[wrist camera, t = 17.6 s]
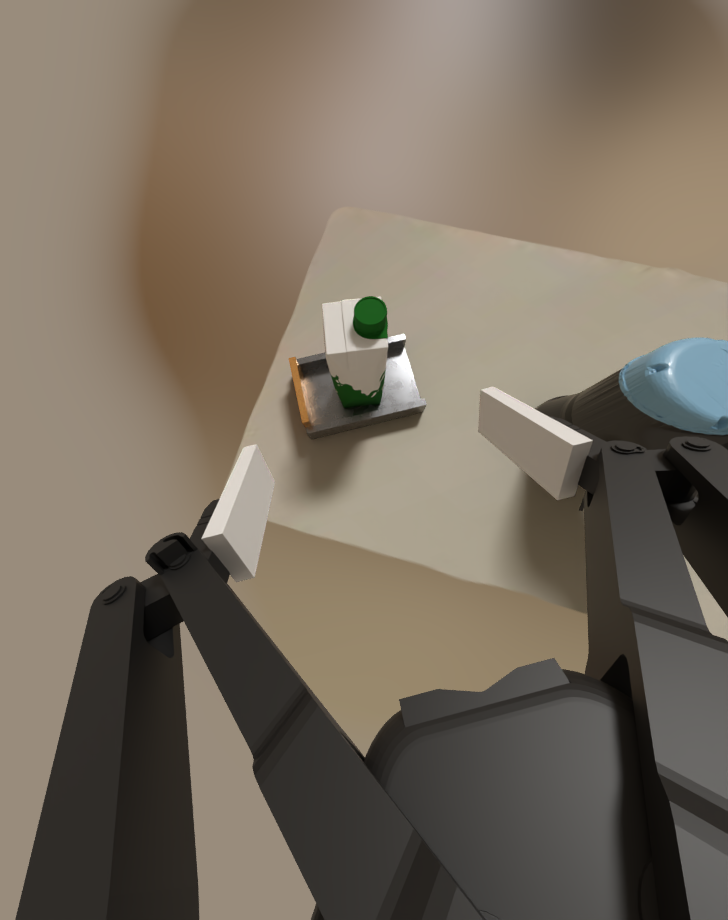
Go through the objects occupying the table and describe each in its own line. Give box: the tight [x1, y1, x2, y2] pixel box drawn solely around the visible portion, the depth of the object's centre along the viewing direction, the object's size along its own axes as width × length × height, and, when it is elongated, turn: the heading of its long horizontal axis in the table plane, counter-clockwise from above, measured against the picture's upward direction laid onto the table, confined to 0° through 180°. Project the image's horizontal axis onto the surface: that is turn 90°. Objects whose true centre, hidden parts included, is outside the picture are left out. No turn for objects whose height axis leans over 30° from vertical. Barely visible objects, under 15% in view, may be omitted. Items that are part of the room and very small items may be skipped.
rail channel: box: [289, 334, 427, 439], centre depth 50 cm, size 22×15×6 cm
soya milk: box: [322, 296, 388, 408], centre depth 42 cm, size 9×9×20 cm
